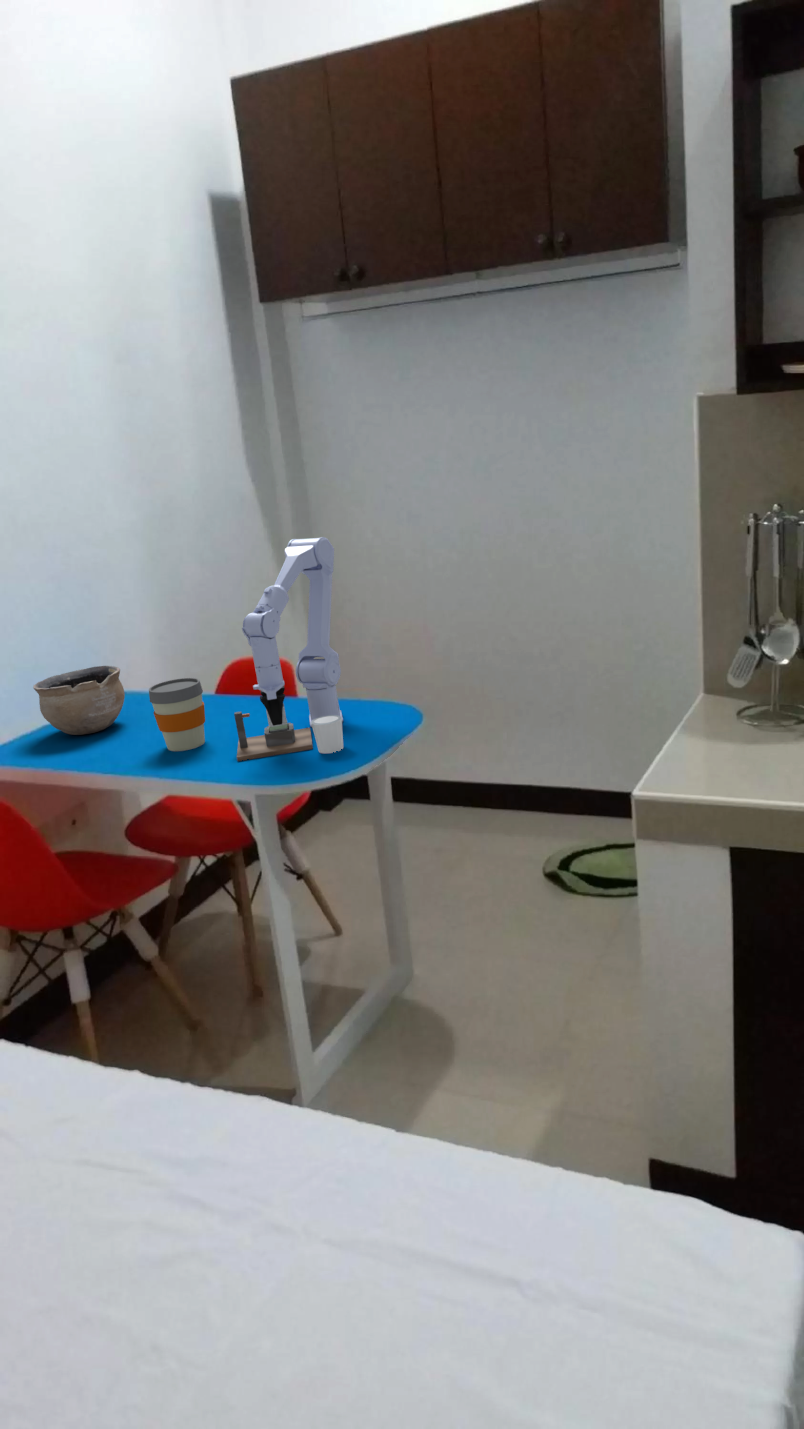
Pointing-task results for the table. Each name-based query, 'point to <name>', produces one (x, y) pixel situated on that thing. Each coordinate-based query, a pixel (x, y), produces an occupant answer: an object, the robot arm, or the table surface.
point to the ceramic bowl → (82, 699)
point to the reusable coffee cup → (179, 712)
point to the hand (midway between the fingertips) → (277, 721)
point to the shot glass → (328, 733)
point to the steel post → (278, 727)
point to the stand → (270, 741)
